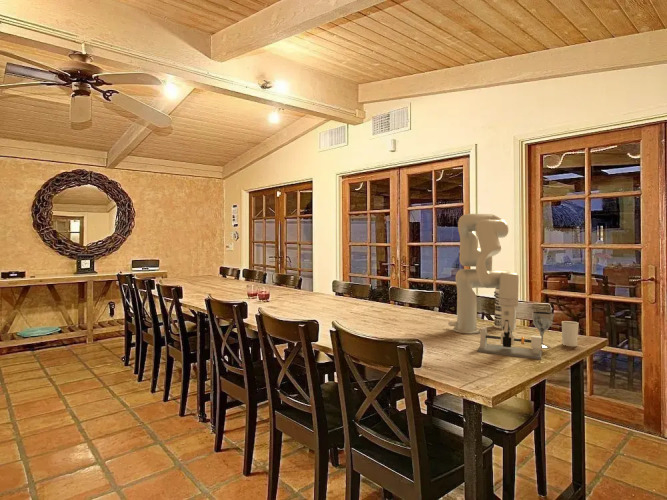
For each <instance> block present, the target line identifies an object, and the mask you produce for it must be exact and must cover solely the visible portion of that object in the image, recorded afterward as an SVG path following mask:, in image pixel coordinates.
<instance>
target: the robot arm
mask: <svg viewBox="0 0 667 500" xmlns="http://www.w3.org/2000/svg"><path fill="white" fill-rule="evenodd" d="M457 230H458V234H459V239H460V240H459V263H460V265H461V266H463V267H475V268H463V269H460V270H458V271H457V272H456V274H455V284H456V294H457V295H456V298H457V299H456V305H457V306H456V321H448V326H450V327H453V331H454V332H456V333H460V334H468V335H469V334H470V335H473V334H478V333H480V332H481V329H480V328H478V327H477V315H478V312H477V311H478V309H477V307H478V305H477V303H478V300H477V299H478V298H477V295H476V293H475V291H474V290H473V289H478V288H479V289H483V288H484V289H495V288H499V306H502V310H501V327H502V328H501V330H503V332H502V333H503V344H502V346H503V347H512V345H511V333H512V334H513V332H514V331H515V330H516V328H517V309H516V308H517V307H519V283H520V282H519V278H520V277H519V274H518V273H516V272H510V271H509V270H493V257H494V256H496V255H498V254H499V253H501V250H502V247H501V243H500V240H499V239H501V238H506V237H507V236H508V233H509V225H508V223H507V222H506V221H505V220H504V219H503V218H501V217H499V216H497V215H495V214H491V213H467V214H466V213H465V214H462V215H461V216H460V217H459V218H458V221H457ZM475 232H476V233H475ZM478 246H479V247H478Z"/></svg>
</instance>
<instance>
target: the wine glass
mask: <svg viewBox="0 0 667 500" xmlns="http://www.w3.org/2000/svg"><path fill="white" fill-rule="evenodd" d="M531 314H532V323H533V326H535V328H536V329H537V330H538V331H539V334H540V335H539V336H541V349H550V348H551V346H550V345H548V344H544V341H543V339H544V335H545V332H546V331H547V330H548V329H549V328H550V327H551V325H552V323H553V322H552V321H553V312H550V311H547V310H546V311H545V310H533V311H532V312H531Z"/></svg>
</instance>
